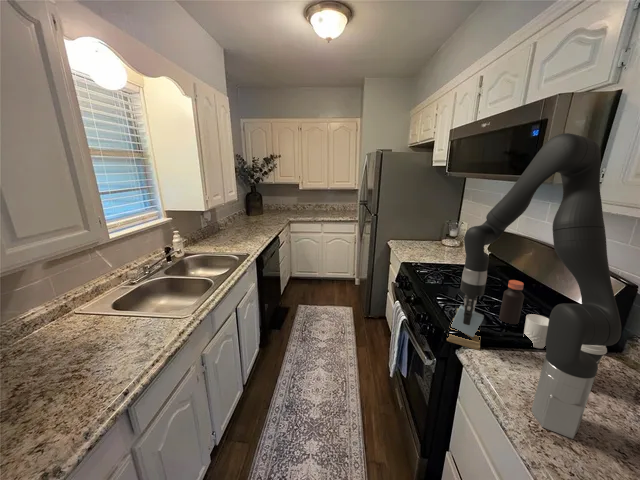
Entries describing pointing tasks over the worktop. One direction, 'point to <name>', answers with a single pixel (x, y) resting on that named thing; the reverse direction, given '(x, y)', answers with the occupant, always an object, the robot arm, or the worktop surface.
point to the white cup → (536, 329)
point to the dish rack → (465, 342)
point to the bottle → (512, 302)
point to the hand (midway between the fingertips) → (466, 322)
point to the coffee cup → (594, 351)
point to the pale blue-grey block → (464, 328)
